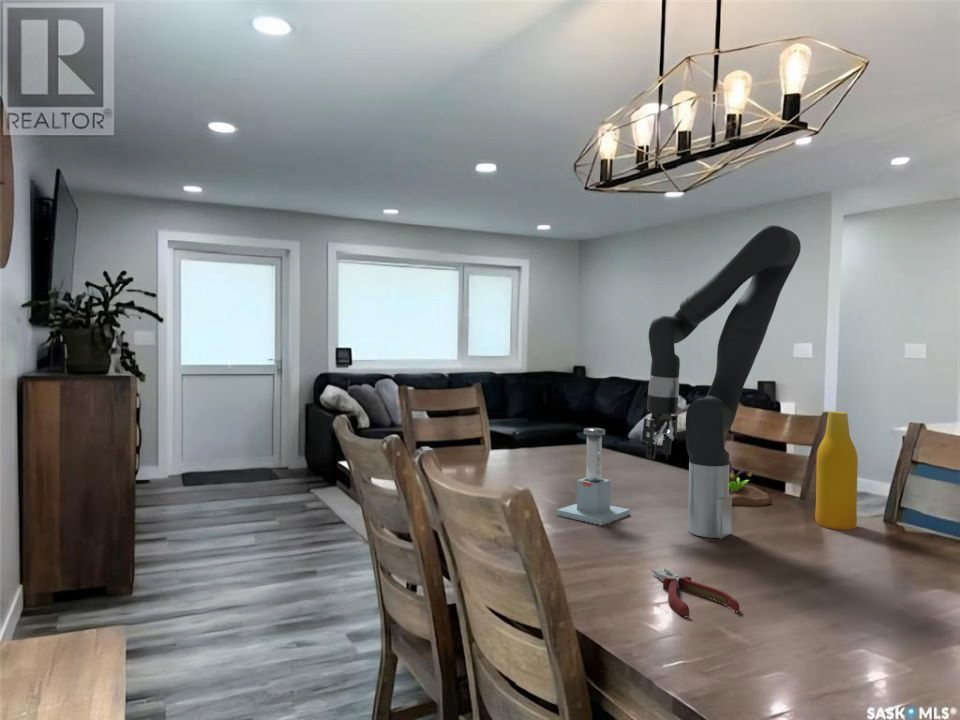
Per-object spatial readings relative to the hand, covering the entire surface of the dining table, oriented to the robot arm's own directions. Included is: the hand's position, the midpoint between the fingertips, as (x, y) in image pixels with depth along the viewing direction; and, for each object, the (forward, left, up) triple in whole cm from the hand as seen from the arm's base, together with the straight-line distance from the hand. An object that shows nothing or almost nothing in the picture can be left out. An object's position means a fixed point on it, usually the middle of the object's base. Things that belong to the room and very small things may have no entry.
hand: (658, 456), depth 163 cm
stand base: (+16, +6, -17) cm, 24 cm away
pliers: (-27, +39, -18) cm, 51 cm away
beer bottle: (-34, -29, -17) cm, 48 cm away
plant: (-3, -40, -18) cm, 44 cm away
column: (+16, +6, -15) cm, 23 cm away
